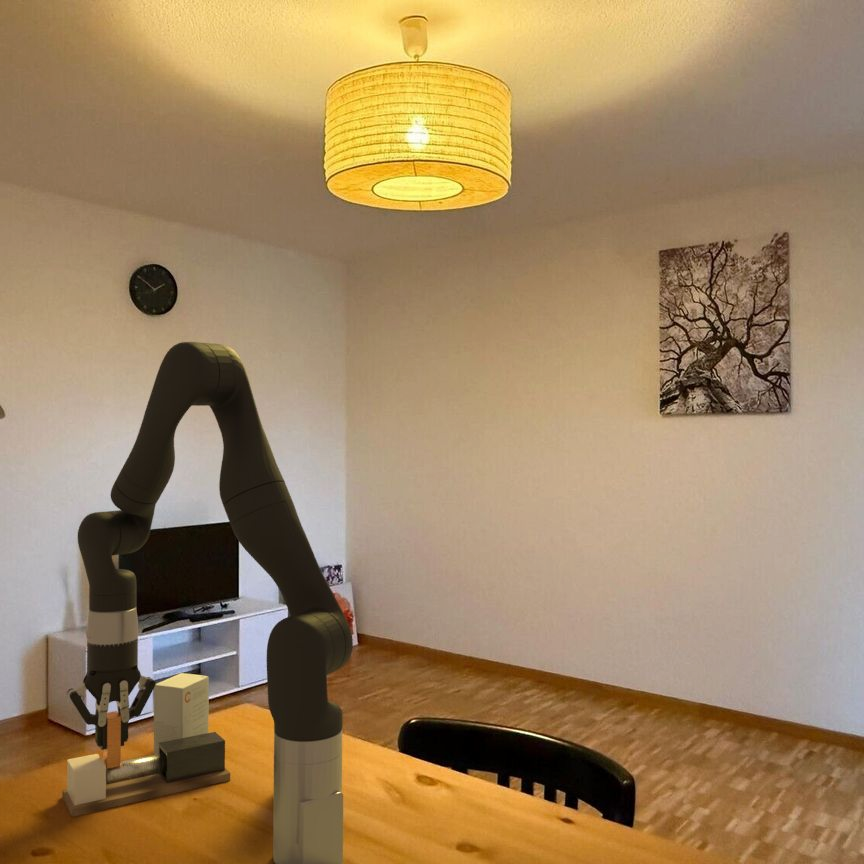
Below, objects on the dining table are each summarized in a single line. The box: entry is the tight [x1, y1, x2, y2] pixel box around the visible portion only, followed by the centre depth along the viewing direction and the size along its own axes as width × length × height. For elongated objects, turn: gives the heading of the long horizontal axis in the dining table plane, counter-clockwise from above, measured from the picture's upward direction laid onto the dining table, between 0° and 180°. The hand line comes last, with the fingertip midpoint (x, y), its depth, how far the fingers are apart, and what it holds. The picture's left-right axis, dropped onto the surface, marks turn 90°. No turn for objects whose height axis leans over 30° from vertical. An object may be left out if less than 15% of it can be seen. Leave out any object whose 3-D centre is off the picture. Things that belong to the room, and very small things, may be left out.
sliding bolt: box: [102, 710, 166, 785], centre depth 132 cm, size 14×3×11 cm, turn 124°
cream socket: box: [66, 753, 106, 806], centre depth 129 cm, size 4×6×5 cm
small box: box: [153, 672, 210, 755], centre depth 150 cm, size 8×6×13 cm
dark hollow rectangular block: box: [158, 731, 226, 783], centre depth 138 cm, size 10×5×5 cm, turn 124°
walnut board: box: [61, 767, 231, 818], centre depth 134 cm, size 24×8×1 cm, turn 124°
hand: (111, 745), depth 131 cm, fingers closed on sliding bolt, 2 cm apart
